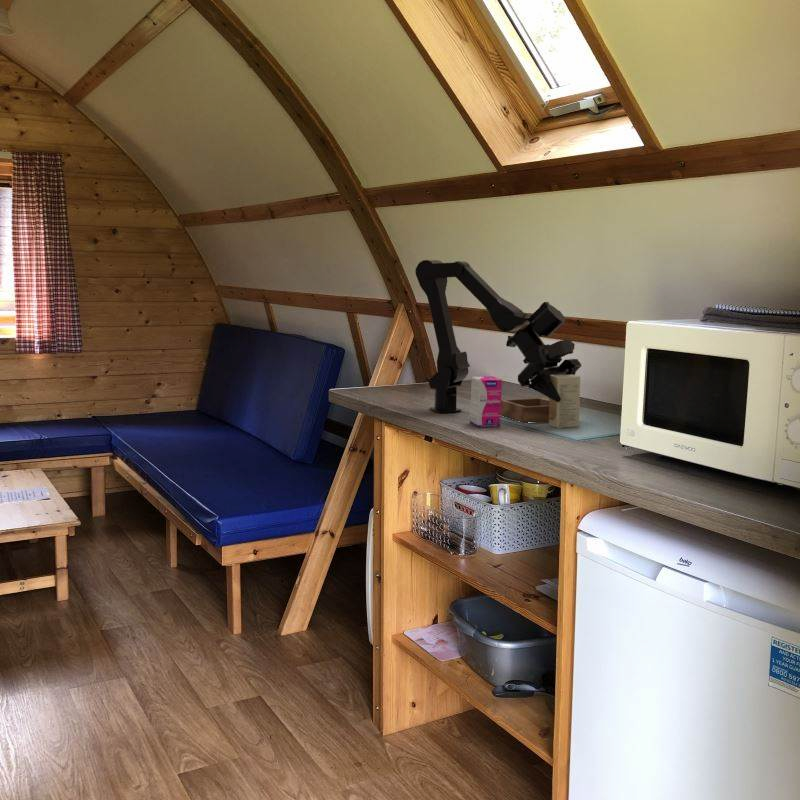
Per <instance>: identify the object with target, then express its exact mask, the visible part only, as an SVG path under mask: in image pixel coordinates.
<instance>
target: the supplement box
mask: <svg viewBox="0 0 800 800" xmlns="http://www.w3.org/2000/svg"><path fill="white" fill-rule="evenodd" d="M470 385H471V387H470V388H471V390H470V410H469V413H470V415H469V424H470V425H473V426H474V427H476V428H488V427H489V428H491V427H498V428H499V427H500V425H501V424H500V423H501V416H500V412H501V400H502V388H503V387H502V385H503V379H500V378H498V377H496V376H490V375H489V376H482V375H481V376H472V377H471V384H470Z"/></svg>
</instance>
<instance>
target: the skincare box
mask: <svg viewBox="0 0 800 800" xmlns="http://www.w3.org/2000/svg"><path fill="white" fill-rule="evenodd" d="M550 380H551V382H552V384H553V385H554V387H555V389H556V390H557V392H558V394H559V396H560V398H561V401H560V402H556V401H554V400H553V399H551V398H549V397H548V398H549V399H548V400H549V422H548V426H550V425H551V427H553V426H554V427H553V428H555V427H557V428H556V429H560V428H561V429H562V428H563V427H565V428H576V427H580V409H581V408H580V402H581V376H579V375H576V374H575V375H572V374H571V375H553V376H550Z"/></svg>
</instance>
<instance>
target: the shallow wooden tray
mask: <svg viewBox="0 0 800 800" xmlns="http://www.w3.org/2000/svg"><path fill="white" fill-rule="evenodd" d="M500 415H501V416H500V417H502V416H504V417H503V418H505V417H507V418H506V419H508V418H510V419H509V420H511V419H513V420H512V421H514V420H516V421H515V422H517V421H520V422H523V423H522V424H524V423H528V422H543V423H549V399H548V398H545V397H544V398H543V397H527V398H525V397H524V398H512V399H511V398H509V399H501V412H500ZM520 422H519V423H520Z"/></svg>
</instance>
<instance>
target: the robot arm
mask: <svg viewBox="0 0 800 800" xmlns="http://www.w3.org/2000/svg"><path fill="white" fill-rule="evenodd" d="M414 271H415V277H416V279H417V282H418V284H419V287H420V289H421V290H422V291H423V292H424V294H425V295H426V298H427V301H428V307H429V310H430V315H431V320H432V325H433V328H434V334H435V338H436V342H437V347H438V354H437V358H436V371H437V372H435V373H434V374H433V376H432V377H430V378H429V380H428V384H429V388H430V389H433V390H434V405H433V407H429V410H431V411H433V412H436V413H438V414H443V413H444V414H445V413H459V412H460V413H461V412H462V409H460V408H457V401H458V400H457V398H458V394H457V392H458V391H457V390H458V389H457V388H458V387H461V386H462V384H463V382H464V380H465V379H466V378H467V377H468V375H469V368H470V367H471V365H470V363H469V361H468V353H467V351H461V350H460V348H458V345H457V341H456V337H455V332H454V331H455V330H454V327H453V324H452V319H451V314H450V309H449V305H448V304H449V303H448V301H447V300H448V299H447V296H446V290H447V286H448V278H456V279H457V280H458V281H459V282H460V283H461V284H462V285H463V286H464V287H465V288H466V290H468V292H470V293H471V294H472V295H473V297H475V299H477V301H479V303H480V304H482V305H483V307H485V309H486V311H487V312H488V315H489V317H490V319H491V321H492V322H493V324H494V325H495V326H496V328H497V329H498V330H499V331H501V332H504V333H505V332H507V333H509V332H514V331H515V333H514V334H513V335H507V341H506V342H505V343H506V344H505V346H506V347H507V348H515V347H517V348H518V350H519V351H520V353H521V354H522V355H523V357H524V359H523V360H522V361H523V363H524V364H525V365H526V366H524V368H523V369H522V370H521V372H520V371H519V374H517V382H518V383H519V385H520V386H521V387H528V389H532V390H534V391H536V392H538V393H540V394H542V395H543V396H546V397H548V398H551V399H553V400H554V401H556V402H560V401H561V398H560V396H559V394H558V392H557V390H556V389H555V387H554V385H553V384H552V382H551V380H550V376H554V375H571V374H572V375H576V373H577V372H578V370H579V369H580V368H582V363H581V362H580V361H579V359H577V358H567V359H564V360H563V357H565V356H567V355H572V354H574V350H575V345H576V344H575V343H574V342H573V341H572V340H571V339H570V337H568V338H564V339H562V340H558V341H556V342H553V343H552V344H548V343H547V344H546V343H544V341H543V340H542V339H541V338H542V337H546V338H549V337H550V336H551V335H552V334H553V333H554V332H555V331H557V329H558V328H560V327H561V326H562V325H563V324H564V323H565V322H566V317H565V316H564V314H563V313H562V312H561V310H558V308H556V307H555V306H553V305H552V304H551V303H550V302H549V301H544V302H542V303H541V304H540V306H539V307H538V308H537V309H536V310H535V311H534V312H533V313H532V314H528V313H525V312H524V311H523V310H522V309H521V308H519V307H518V306H516V305H515V304H514V303H512V302H510V301H508V300H506V299H504V298H503V297H502V296H500V295H499V294H498V293H497V292H496V291H495V290H494V289H493V287H491V286H490V285H489V284H488V282H487V281H485V280H484V279H483V277H481V276H480V275H479V274H478V273H477V272H476V271H475V269H473V267H471V265H470V263H469V262H467V261H459V260H457V261H454V262H442V261H441V260H436V259H425V260H421V261H420V262H419V263H418V264H417V266H416V267H415V270H414ZM524 326H525V327H524ZM523 327H524V328H523ZM560 362H561V363H560ZM559 363H560V364H559ZM558 364H559V365H558Z"/></svg>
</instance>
